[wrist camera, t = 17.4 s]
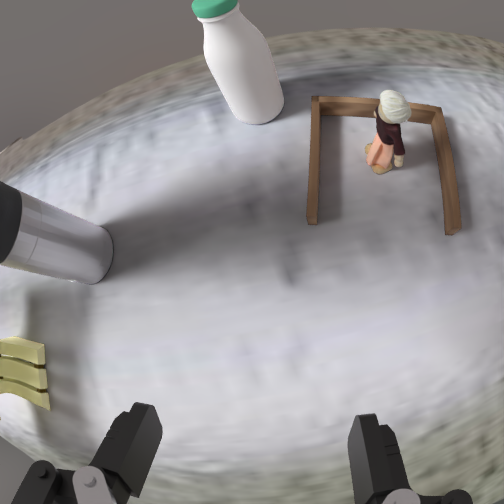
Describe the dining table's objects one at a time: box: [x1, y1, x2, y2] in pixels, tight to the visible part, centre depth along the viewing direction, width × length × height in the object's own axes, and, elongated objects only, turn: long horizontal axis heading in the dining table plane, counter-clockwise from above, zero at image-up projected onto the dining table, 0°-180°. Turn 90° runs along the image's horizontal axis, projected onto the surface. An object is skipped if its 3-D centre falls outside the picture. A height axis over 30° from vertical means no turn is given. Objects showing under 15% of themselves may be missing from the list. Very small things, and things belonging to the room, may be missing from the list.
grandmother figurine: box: [365, 90, 411, 174], centre depth 27 cm, size 8×4×13 cm, turn 19°
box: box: [306, 96, 461, 235], centre depth 32 cm, size 18×17×3 cm
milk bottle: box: [192, 0, 284, 125], centre depth 30 cm, size 8×8×20 cm
